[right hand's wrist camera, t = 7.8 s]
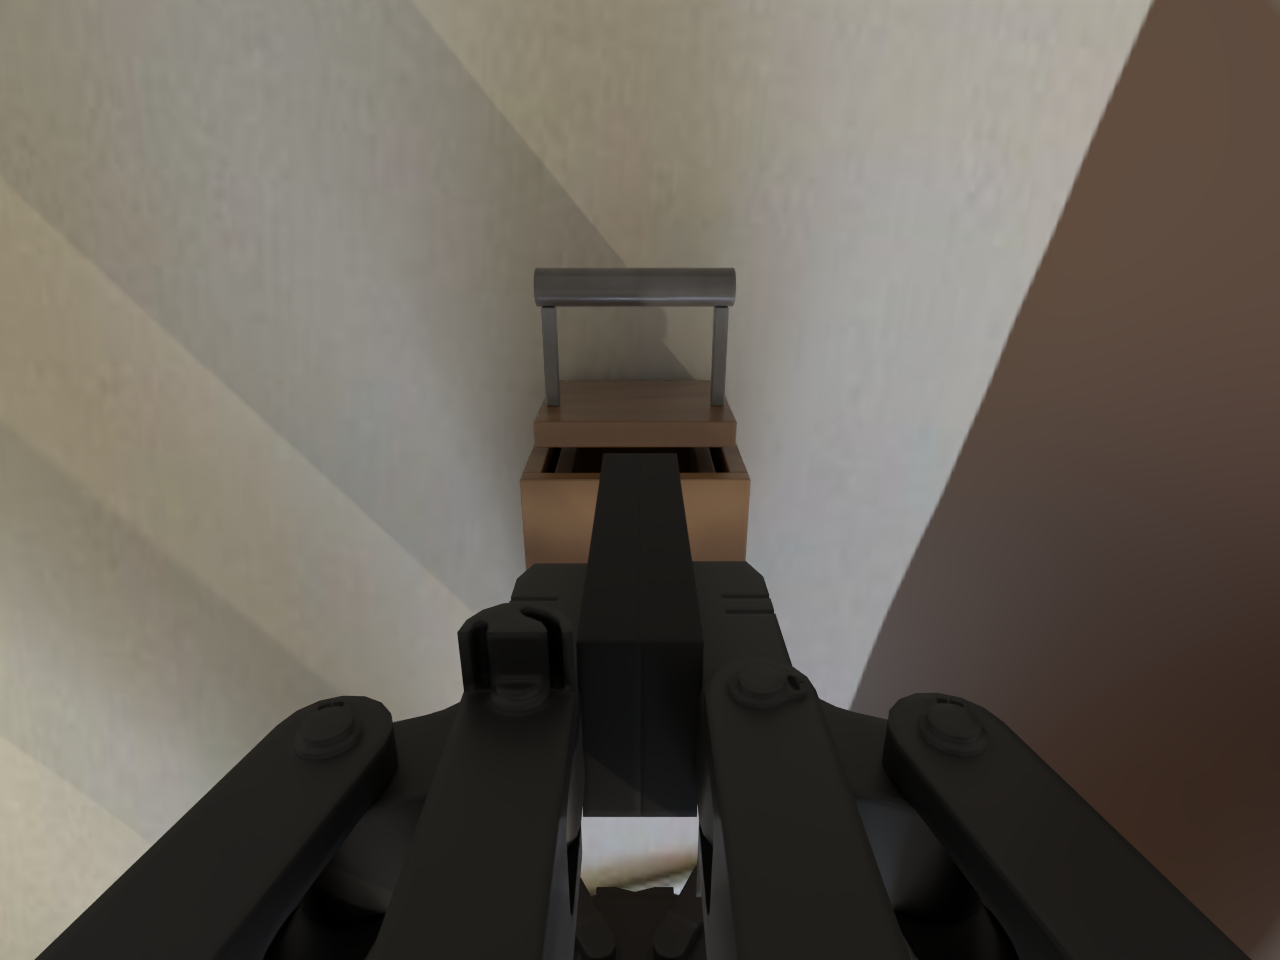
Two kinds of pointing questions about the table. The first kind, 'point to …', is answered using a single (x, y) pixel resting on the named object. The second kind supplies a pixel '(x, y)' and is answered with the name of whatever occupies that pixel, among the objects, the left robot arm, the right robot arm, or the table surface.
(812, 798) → the right robot arm
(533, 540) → the wooden drawer box
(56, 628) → the table surface
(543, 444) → the wooden drawer
